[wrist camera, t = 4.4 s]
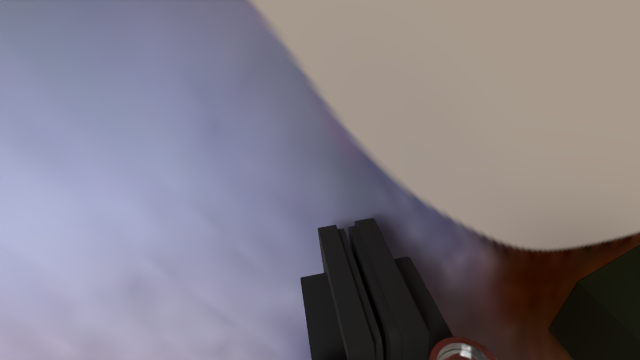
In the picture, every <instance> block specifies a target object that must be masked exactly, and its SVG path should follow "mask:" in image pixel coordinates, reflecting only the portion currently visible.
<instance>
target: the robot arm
mask: <svg viewBox="0 0 640 360" xmlns="http://www.w3.org/2000/svg"><path fill="white" fill-rule="evenodd" d="M318 234H319V241H320V248H321V254H322V261H323V268H324V273H322V274H317V275H312V276H307V277H301V286H302V293H303V300H304V307H305V314H306V321H307V328H308V336H309V343H310V350H311V357H312V360H497V359H496V357H495V356H494V355H493V354H492V353H491V352H490V351H489V350H488V349H487V348H486V347H484V346H483V345H481V344H479V343H478V342H476V341H474V340H471V339H468V338H465V337H453V335H452V333H451V332H450V330H449V328H448V326H447V324H446V322H445V321H444V319H443V317H442V315H441V313H440V311H439V310H438V308H437V306H436V304H435V302H434V300H433V299H432V297H431V295H430V293H429V291H428V289H427V288H426V286H425V284H424V282H423V280H422V278H421V277H420V275H419V273H418V271H417V269H416V268H415V266H414V264H413V262H412V261H411V259H410V258H409V257H404V258H399V259H393V257H392V255H391V253H390V251H389V249H388V247H387V244H386V242H385V240H384V238H383V236H382V234H381V232H380V230H379V228H378V226H377V224H376V222H375V220H374V218H370V219H364V220H359V221H355V226H353V227H349V237H350V245H349V242H348V239H347V236H346V233H345V230H344V228H343V229H337V227H336V225H332V226H327V227H321V228H318Z"/></svg>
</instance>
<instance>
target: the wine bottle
mask: <svg viewBox="0 0 640 360" xmlns="http://www.w3.org/2000/svg"><path fill="white" fill-rule="evenodd" d="M549 331H550V332H551V333H552V335H553V336H554V337H555V339H556V340H557V341H558V343H559V344H560V345H561V347H562V348H563V349H564V351H565V352H566V353H567V355H568V356H569V357H570V358H571V360H640V245H639V246H638V247H636V248H634V249H633V250H631V251H629V252H628V253H626V254H624V255H622V256H621V257H619V258H617V259H616V260H614V261H612V262H611V263H609V264H607V265H606V266H604V267H602V268H601V269H599V270H597V271H596V272H594V273H592V274H590V275H589V276H587V277H585V278H584V279H582V280H580V281H579V282H578V283H577V284H576V286H575V288H574V289H573V291H572V292H571V294H570V296H569V297H568V299H567V301H566V302H565V304H564V306H563V307H562V309H561V310H560V312H559V314H558V315H557V317H556V319H555V320H554V322H553V323H552V325H551V327H550V328H549Z"/></svg>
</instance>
